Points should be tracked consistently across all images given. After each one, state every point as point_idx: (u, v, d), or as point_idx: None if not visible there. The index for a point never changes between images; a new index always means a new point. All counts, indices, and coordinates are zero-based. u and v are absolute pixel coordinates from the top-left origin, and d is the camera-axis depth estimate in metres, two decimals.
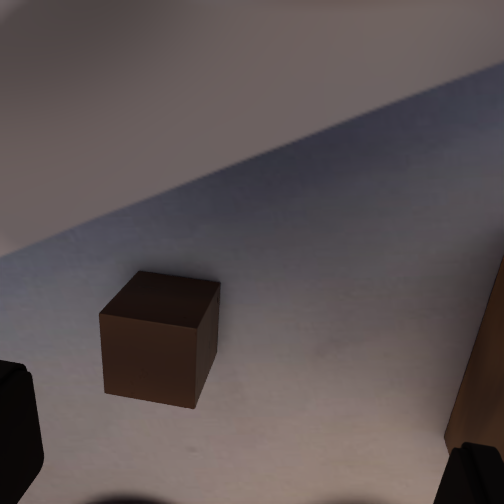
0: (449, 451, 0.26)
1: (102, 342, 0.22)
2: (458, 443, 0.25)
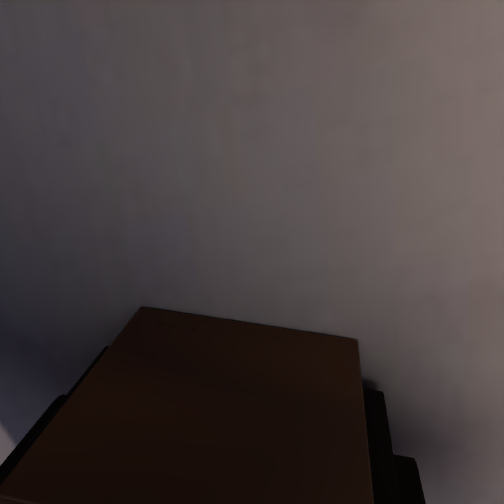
0: None
1: None
2: None
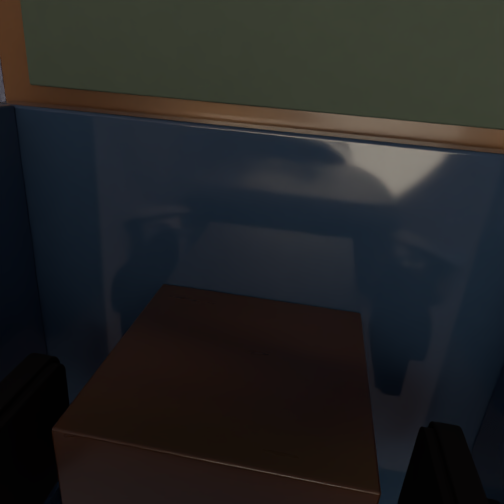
0: None
1: None
2: None
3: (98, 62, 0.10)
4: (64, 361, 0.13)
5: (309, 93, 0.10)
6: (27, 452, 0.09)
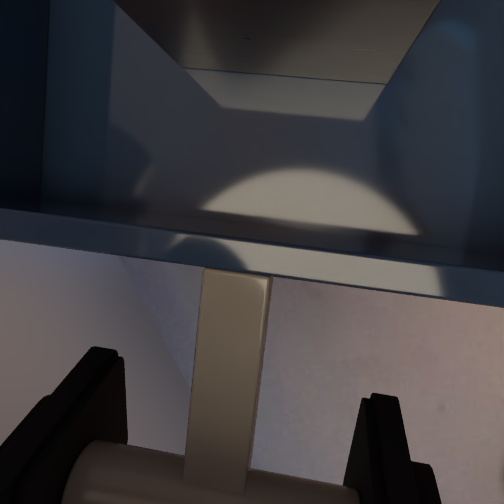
0: None
1: None
2: None
3: None
4: None
5: None
6: None
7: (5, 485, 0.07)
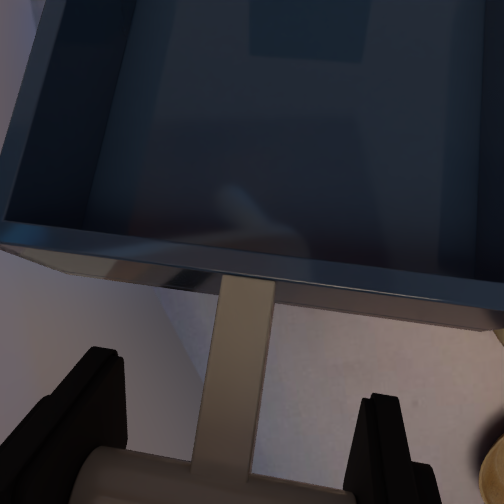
0: None
1: None
2: None
3: None
4: (127, 99, 0.15)
5: None
6: (94, 441, 0.09)
7: (4, 485, 0.07)
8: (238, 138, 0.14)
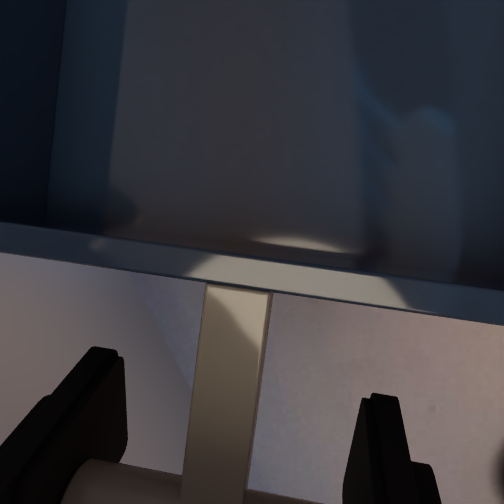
0: None
1: None
2: None
3: None
4: (84, 13, 0.12)
5: None
6: (94, 441, 0.09)
7: (5, 485, 0.07)
8: (228, 65, 0.11)
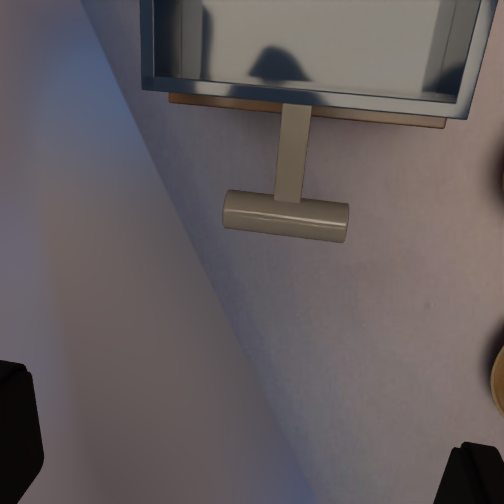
0: None
1: None
2: None
3: None
4: None
5: None
6: None
7: None
8: None
